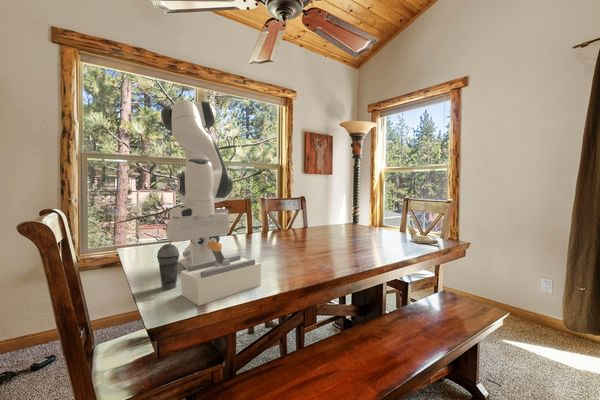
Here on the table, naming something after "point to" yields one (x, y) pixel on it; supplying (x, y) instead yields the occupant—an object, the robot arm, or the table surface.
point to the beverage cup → (168, 265)
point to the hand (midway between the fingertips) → (201, 251)
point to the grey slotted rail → (220, 269)
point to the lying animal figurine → (420, 237)
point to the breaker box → (219, 282)
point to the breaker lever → (216, 250)
